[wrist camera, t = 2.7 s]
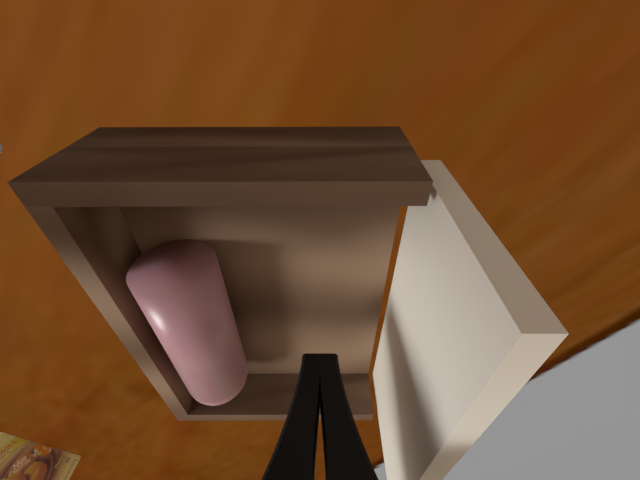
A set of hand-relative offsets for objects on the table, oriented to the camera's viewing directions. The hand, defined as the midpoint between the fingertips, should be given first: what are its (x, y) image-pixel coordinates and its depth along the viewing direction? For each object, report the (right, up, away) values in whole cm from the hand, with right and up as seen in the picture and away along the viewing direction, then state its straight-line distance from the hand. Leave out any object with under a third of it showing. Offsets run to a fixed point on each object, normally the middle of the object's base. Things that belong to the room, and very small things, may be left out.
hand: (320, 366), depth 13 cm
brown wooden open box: (-3, +3, +4) cm, 6 cm away
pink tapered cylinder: (-6, +2, +3) cm, 7 cm away
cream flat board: (+3, +2, +3) cm, 5 cm away
